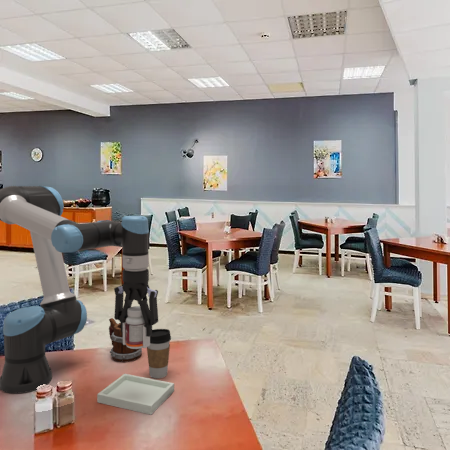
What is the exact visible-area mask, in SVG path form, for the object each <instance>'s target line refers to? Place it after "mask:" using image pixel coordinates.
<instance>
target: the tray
mask: <svg viewBox="0 0 450 450" xmlns="http://www.w3.org/2000/svg"><path fill="white" fill-rule="evenodd" d="M174 392H175V383H174V382H171V381H170V382H168V381H164V380H159V379H156V378H149V377H143V376H139V375H133V374H129V373H123V374H122V375H121V376H120V377H118V378H117V379H115V380H114V381H113V382H111V383H110V384H109V385H107V386H106V387H105V388H104V389H102V390H101V391H99V392H98V393H97V395H96V398H97V399H96V401H97V403H99V404H103V405H106V406H107V405H108V406H112V407H115V408H116V407H117V408H121V409H125V410H128V411H129V410H130V411H134V412H137V413H141V414H146V415H152V414H154V413H155V411H156V410H157V409H159V408H160V407H161V405H163V403H164V402H165V401H166V400H167V399H168V398H169V397H170V396H171V395H172V393H174Z"/></svg>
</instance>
